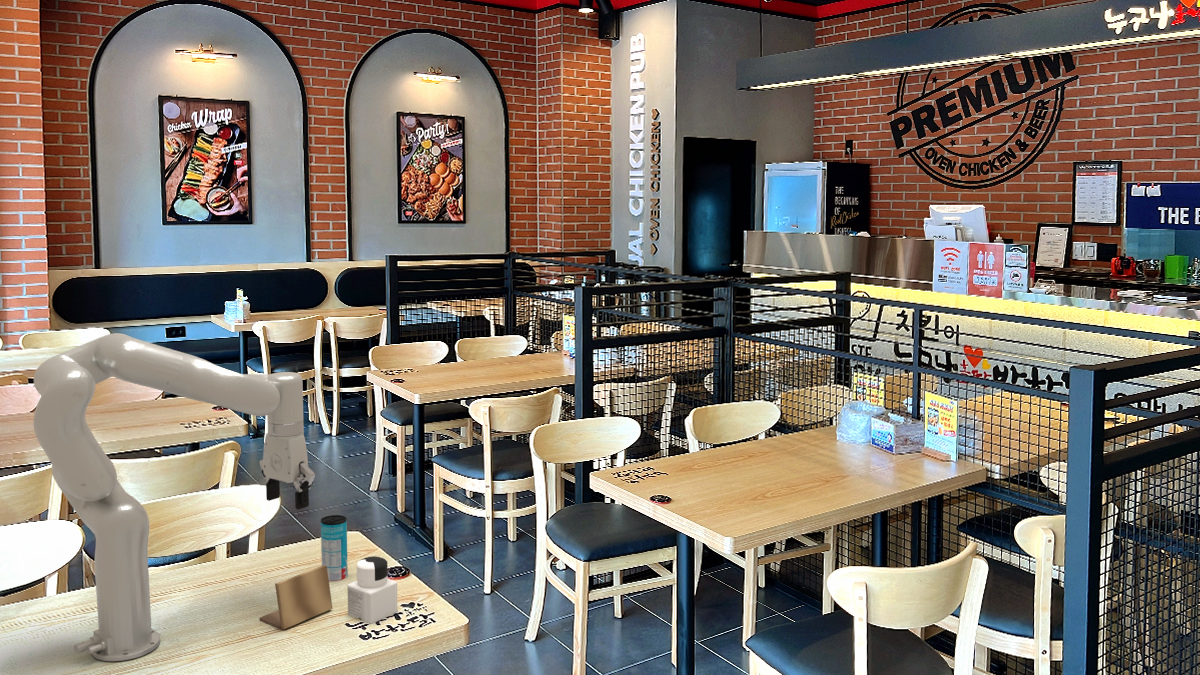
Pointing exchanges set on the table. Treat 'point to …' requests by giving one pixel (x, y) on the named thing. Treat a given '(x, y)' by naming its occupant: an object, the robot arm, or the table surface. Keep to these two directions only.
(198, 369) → the robot arm
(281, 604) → the oak plank
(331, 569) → the beverage can
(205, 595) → the table surface
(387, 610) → the container
